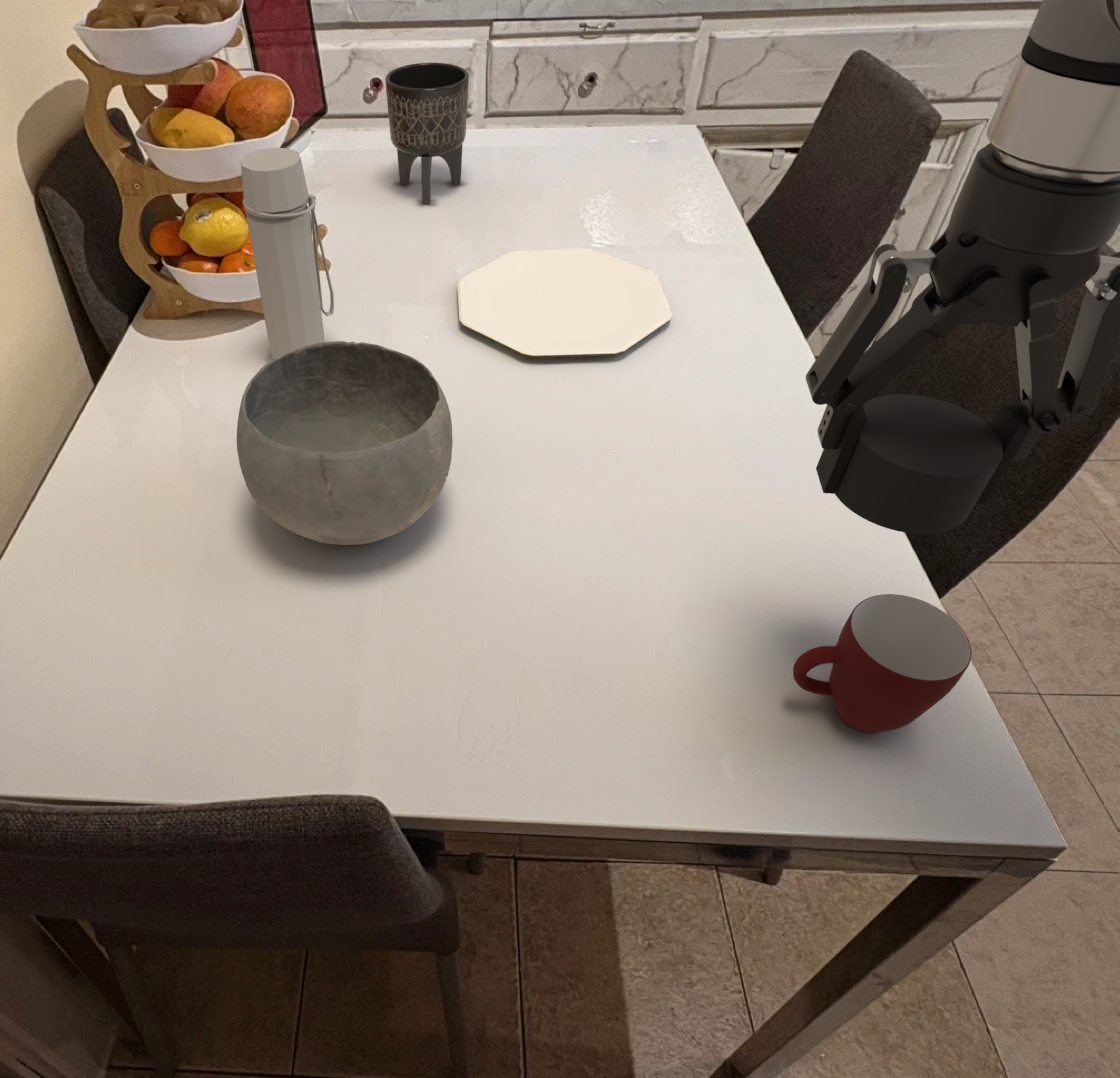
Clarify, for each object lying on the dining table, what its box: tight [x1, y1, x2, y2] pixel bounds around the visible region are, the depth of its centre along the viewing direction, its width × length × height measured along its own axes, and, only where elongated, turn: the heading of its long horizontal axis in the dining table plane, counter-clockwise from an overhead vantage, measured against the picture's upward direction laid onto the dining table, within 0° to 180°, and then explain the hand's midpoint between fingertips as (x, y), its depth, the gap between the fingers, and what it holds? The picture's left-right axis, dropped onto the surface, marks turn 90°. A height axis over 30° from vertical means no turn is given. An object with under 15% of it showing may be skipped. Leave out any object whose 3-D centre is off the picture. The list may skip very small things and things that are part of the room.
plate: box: [456, 247, 673, 358], centre depth 113 cm, size 28×28×2 cm
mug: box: [792, 593, 973, 734], centre depth 64 cm, size 10×8×10 cm
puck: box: [834, 394, 1003, 535], centre depth 57 cm, size 9×9×5 cm
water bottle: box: [240, 147, 335, 361], centre depth 99 cm, size 9×8×25 cm
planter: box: [384, 62, 470, 205], centre depth 136 cm, size 13×13×18 cm
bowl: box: [236, 340, 454, 546], centre depth 82 cm, size 20×20×15 cm
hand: (898, 485), depth 59 cm, fingers closed on puck, 9 cm apart
